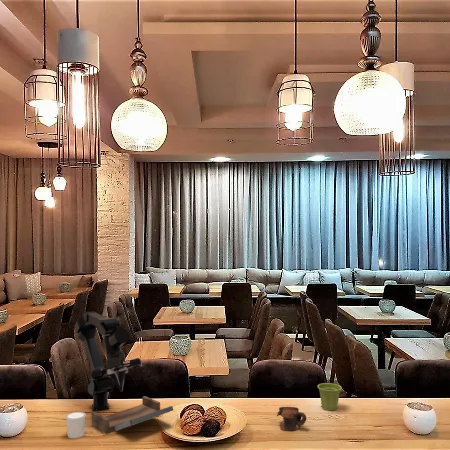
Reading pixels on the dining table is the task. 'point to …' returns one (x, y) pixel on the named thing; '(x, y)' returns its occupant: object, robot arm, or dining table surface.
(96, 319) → the robot arm
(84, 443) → the dining table surface
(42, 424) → the dining table surface
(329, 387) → the plant pot
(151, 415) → the panel
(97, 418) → the tray
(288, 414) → the pottery mug
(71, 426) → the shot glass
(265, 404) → the dining table surface
